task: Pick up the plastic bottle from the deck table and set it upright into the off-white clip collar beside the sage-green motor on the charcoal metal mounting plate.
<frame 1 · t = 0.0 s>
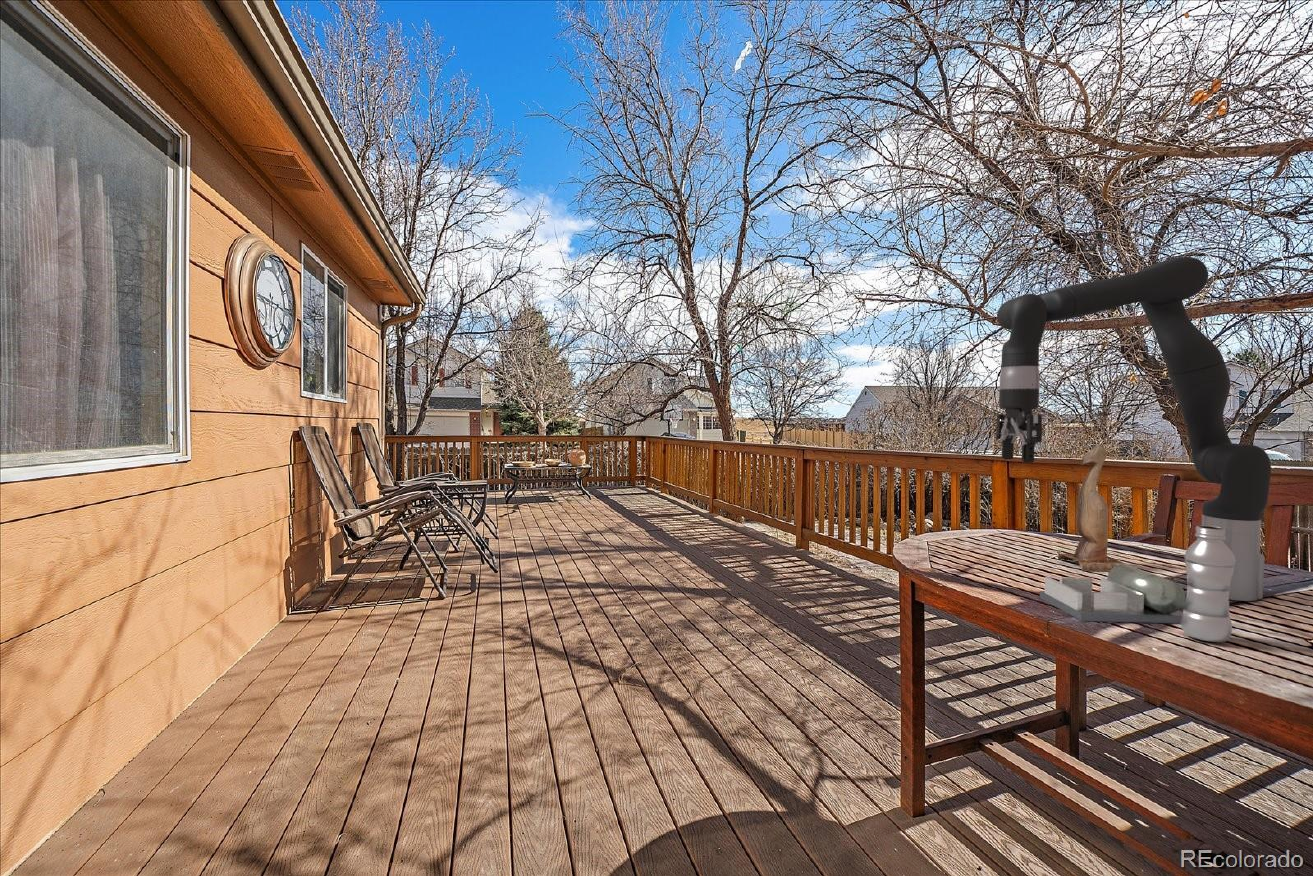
hand: (1017, 460, 131), 29 cm above the table, tool pointing down, fingers open, 8 cm apart
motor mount: (1110, 610, 120), on the table
bird sculpture: (1091, 567, 153), on the table
plastic bottle: (1205, 640, 104), on the table
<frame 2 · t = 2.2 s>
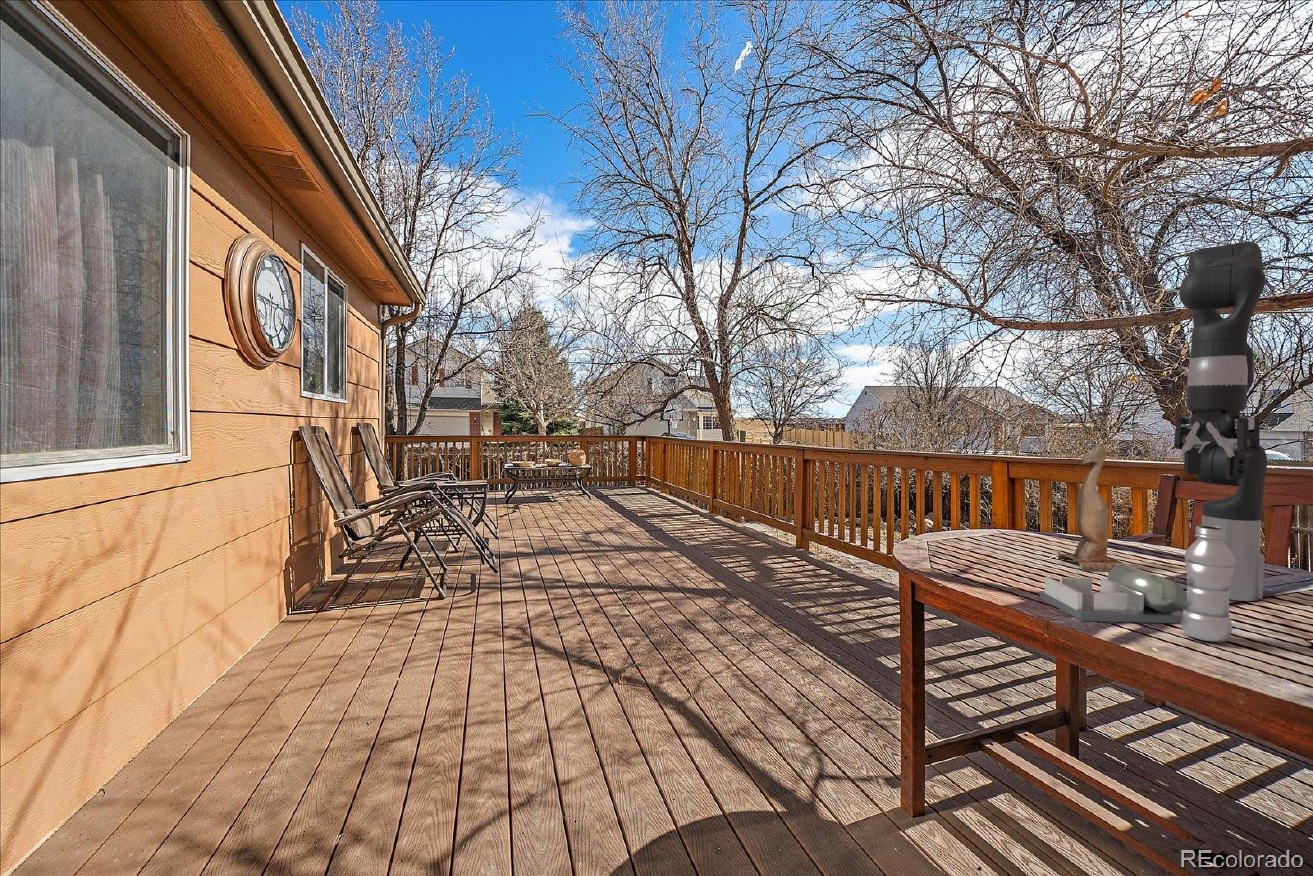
hand: (1212, 476, 103), 29 cm above the table, tool pointing down, fingers open, 8 cm apart
nothing on the table moved.
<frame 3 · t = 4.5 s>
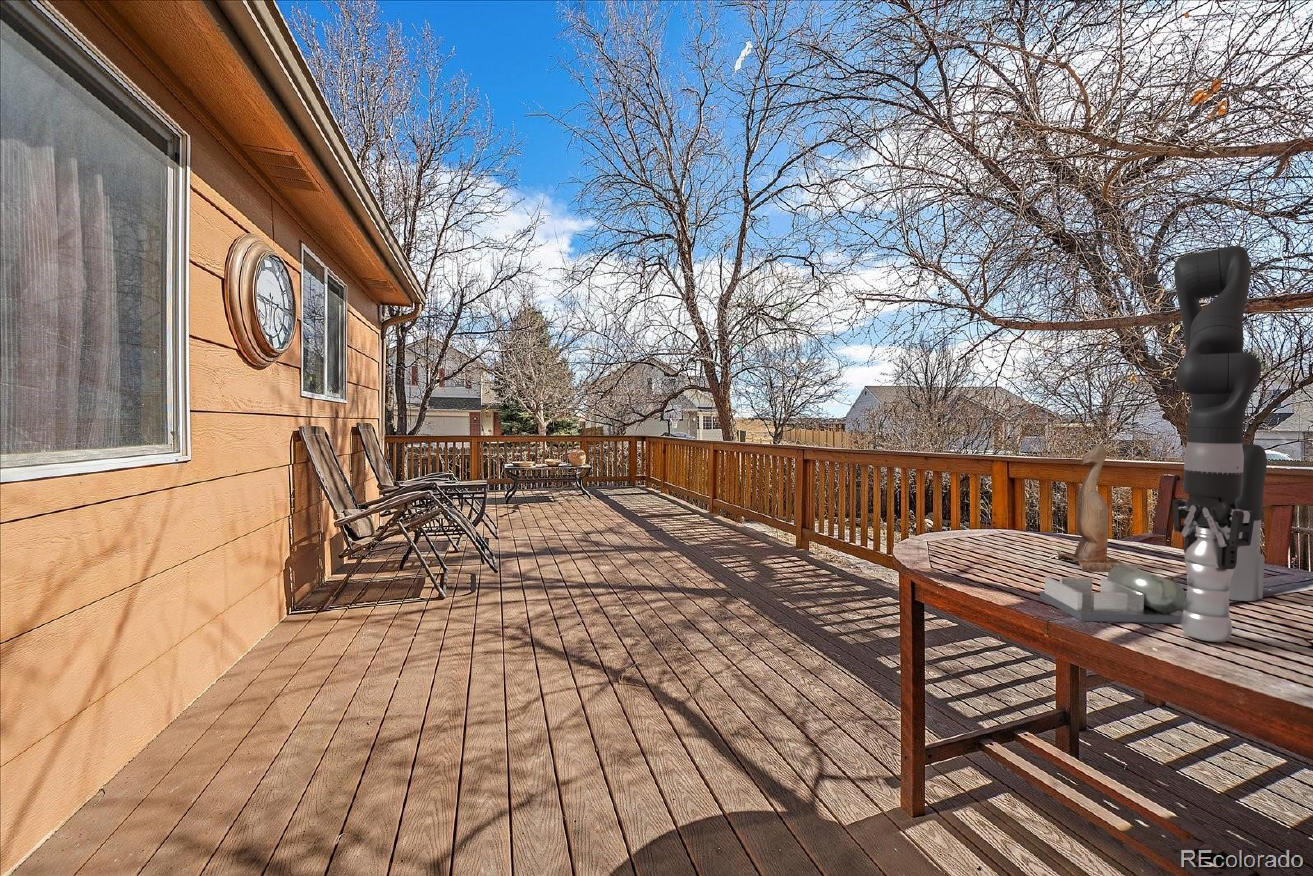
hand: (1208, 563, 104), 14 cm above the table, tool pointing down, fingers closed on plastic bottle, 6 cm apart
plastic bottle: (1205, 640, 104), on the table, touching gripper
everything else where it was.
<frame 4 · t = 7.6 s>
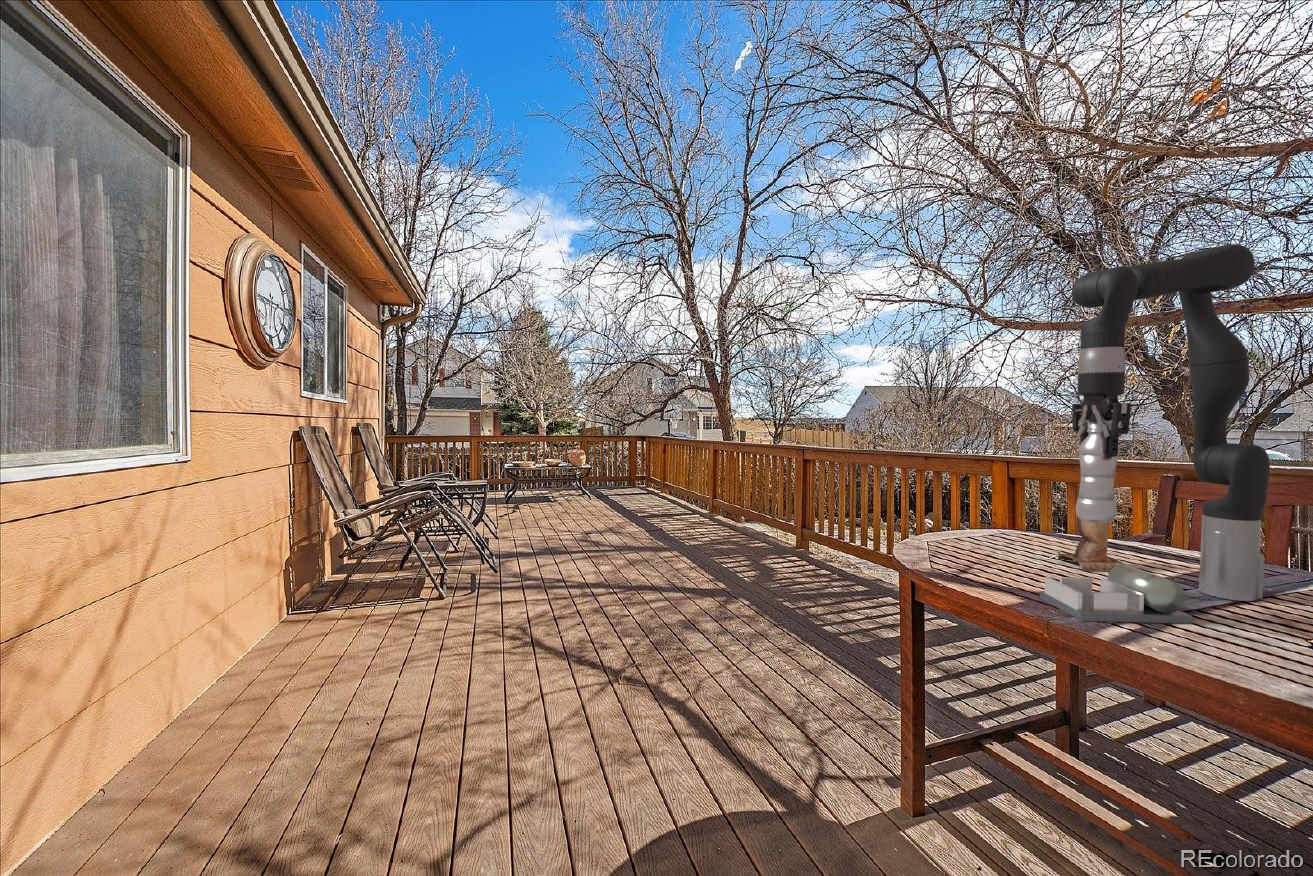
hand: (1098, 454, 118), 32 cm above the table, tool pointing down, fingers closed on plastic bottle, 6 cm apart
plastic bottle: (1095, 523, 119), point 18 cm above the table, touching gripper
everything else where it was.
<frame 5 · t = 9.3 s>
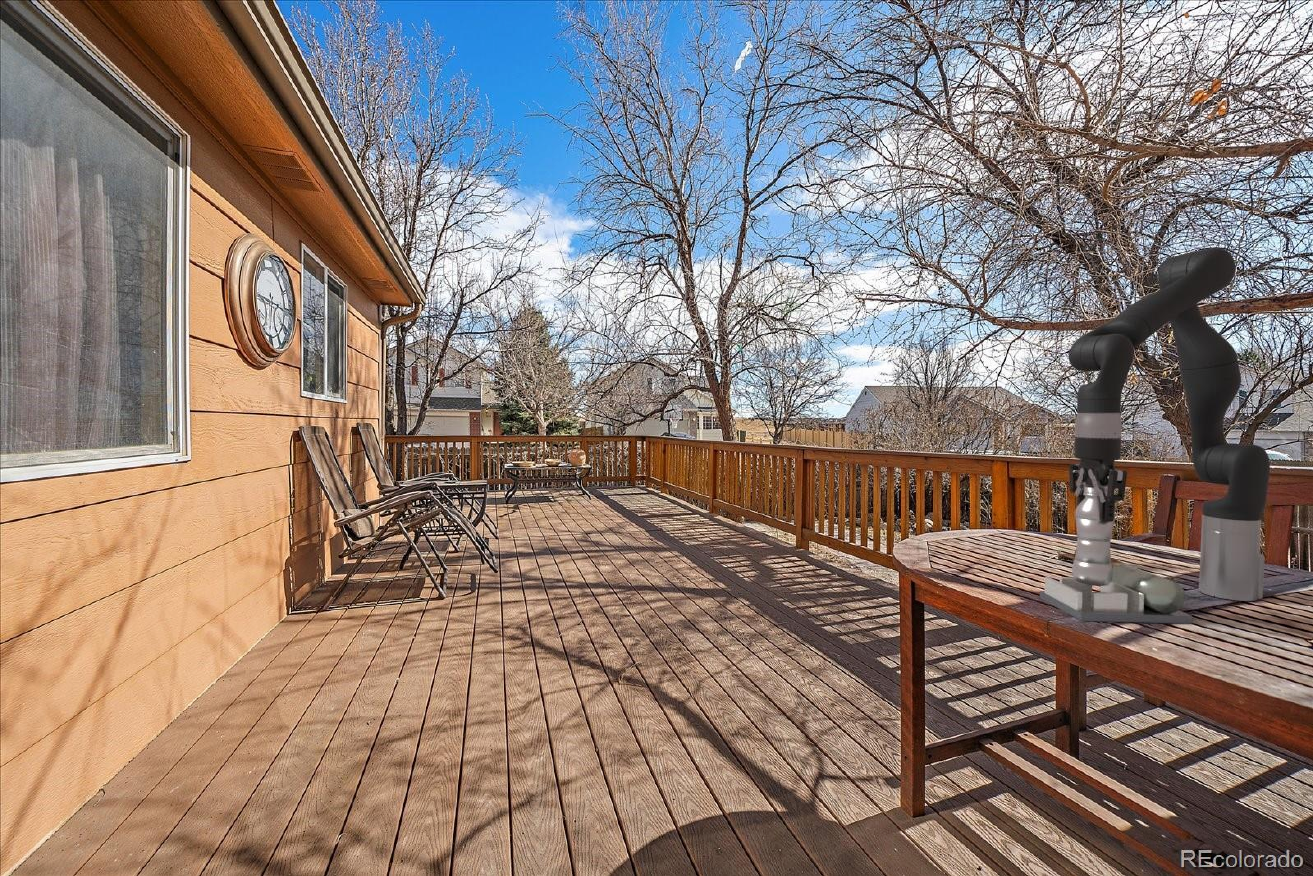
hand: (1094, 517, 119), 19 cm above the table, tool pointing down, fingers closed on plastic bottle, 6 cm apart
plastic bottle: (1091, 585, 120), point 5 cm above the table, touching gripper
everything else where it was.
when the fingers open (17 cm above the table, at t = 10.7 s): plastic bottle drops 1 cm, resting on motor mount.
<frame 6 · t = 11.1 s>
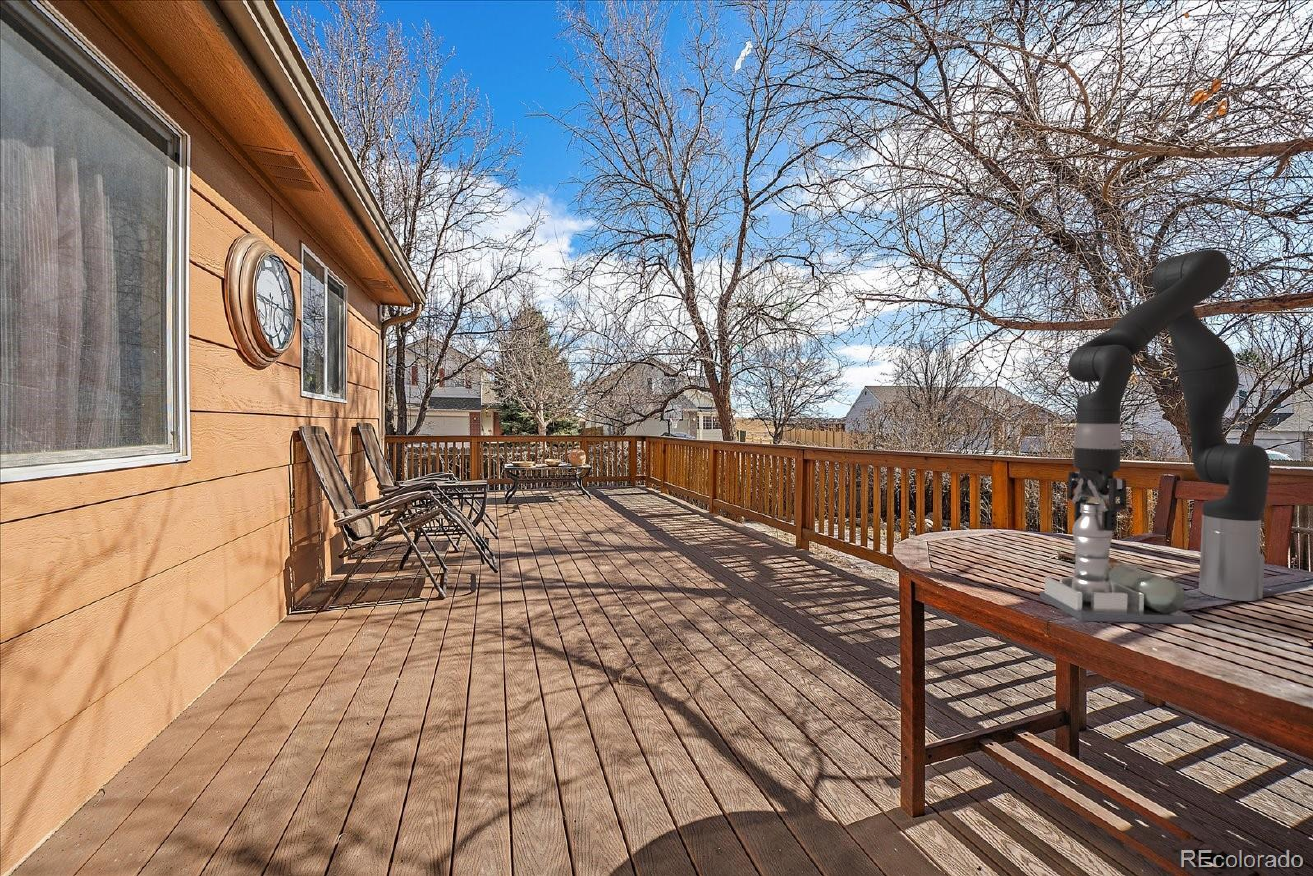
hand: (1094, 526, 119), 17 cm above the table, tool pointing down, fingers open, 8 cm apart
plastic bottle: (1091, 602, 120), point 1 cm above the table, touching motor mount
everything else where it was.
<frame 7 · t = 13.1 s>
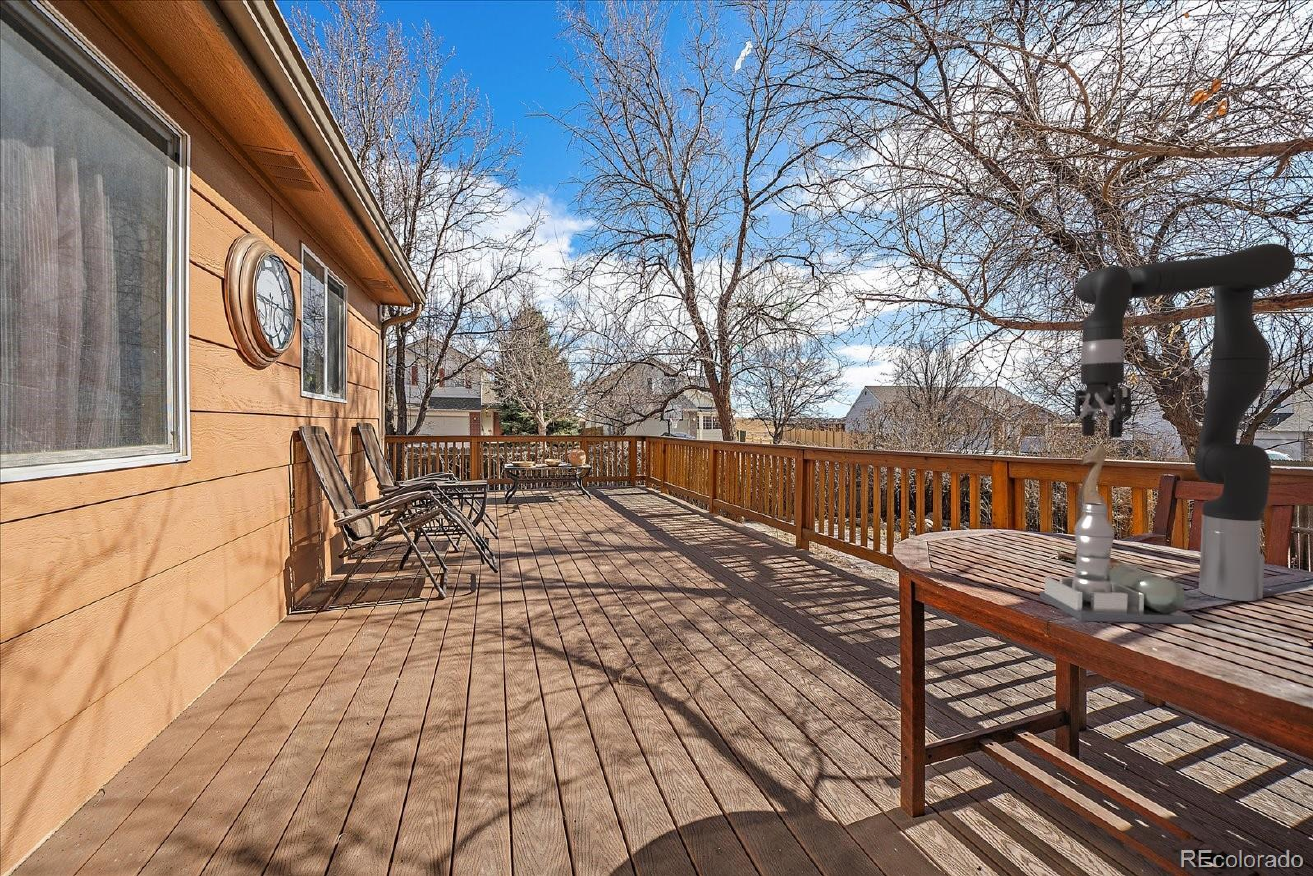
hand: (1101, 436, 129), 35 cm above the table, tool pointing down, fingers open, 8 cm apart
nothing on the table moved.
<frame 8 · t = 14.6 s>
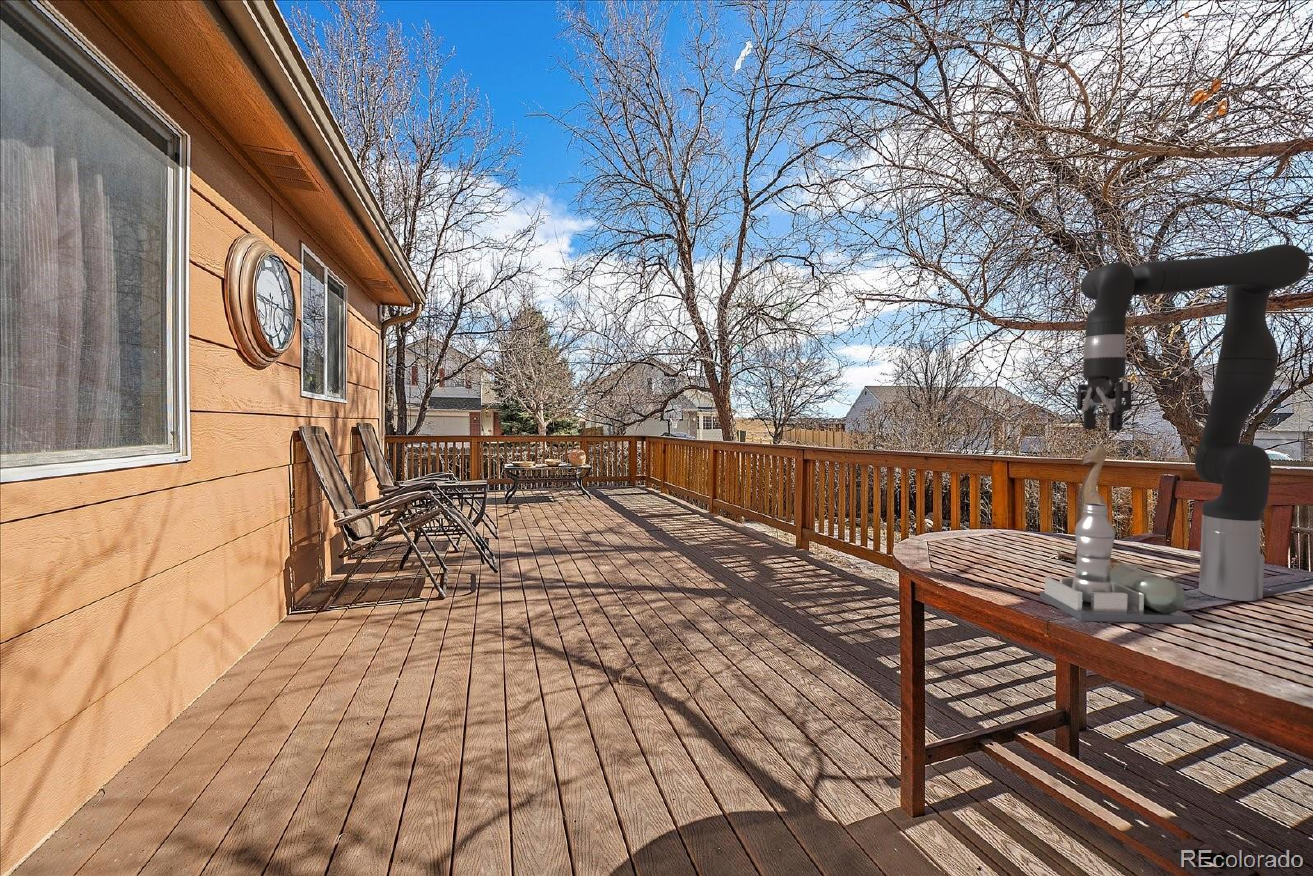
hand: (1101, 429, 132), 36 cm above the table, tool pointing down, fingers open, 8 cm apart
nothing on the table moved.
at the end: plastic bottle 0.1 cm from the target spot on the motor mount, point 1.3 cm above the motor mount's base; plastic bottle tilted 0°; the gripper is holding nothing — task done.
